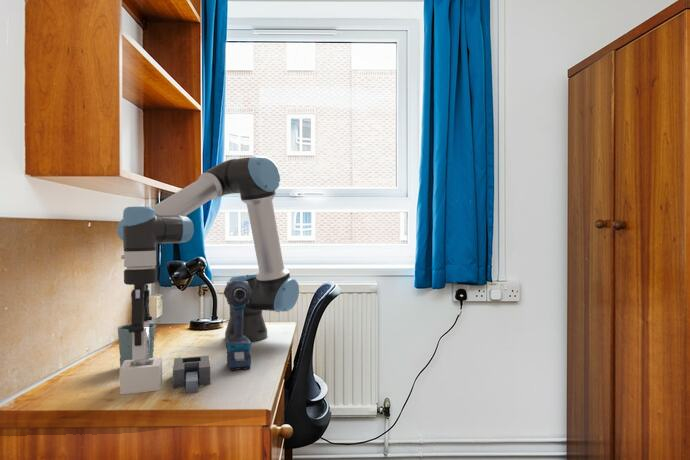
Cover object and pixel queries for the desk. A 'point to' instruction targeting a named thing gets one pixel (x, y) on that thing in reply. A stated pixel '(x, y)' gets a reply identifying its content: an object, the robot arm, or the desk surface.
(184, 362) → the socket block
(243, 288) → the impact wrench
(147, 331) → the silver rounded rod
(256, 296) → the robot arm
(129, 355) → the grey-green cup
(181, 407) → the desk surface
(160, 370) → the block
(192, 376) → the blue-grey rectangular bar
